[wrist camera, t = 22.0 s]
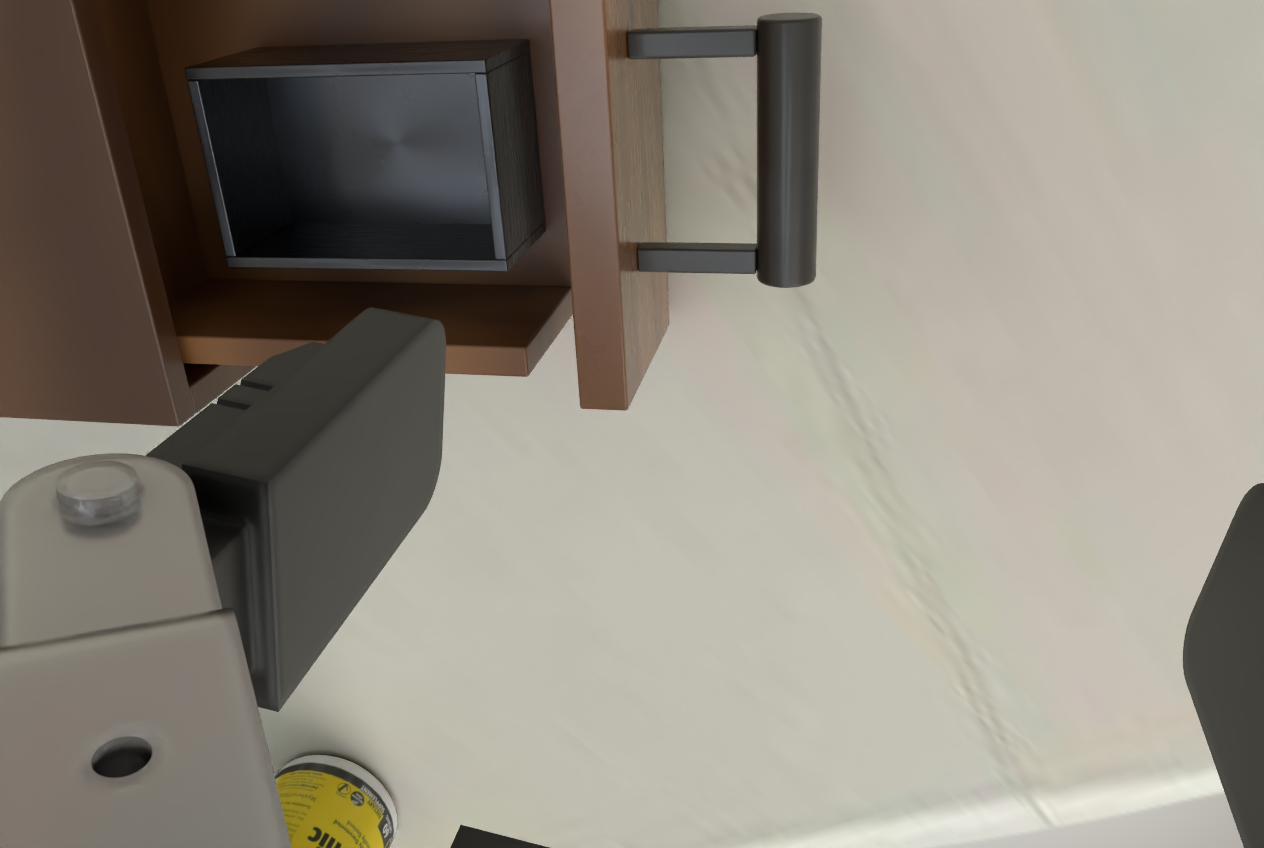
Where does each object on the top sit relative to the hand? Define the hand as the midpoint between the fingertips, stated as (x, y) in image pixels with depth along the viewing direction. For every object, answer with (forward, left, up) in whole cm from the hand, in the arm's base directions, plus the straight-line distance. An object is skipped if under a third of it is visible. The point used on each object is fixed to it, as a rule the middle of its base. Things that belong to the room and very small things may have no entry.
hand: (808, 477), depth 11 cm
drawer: (0, +10, -19) cm, 22 cm away
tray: (0, +12, -18) cm, 22 cm away
